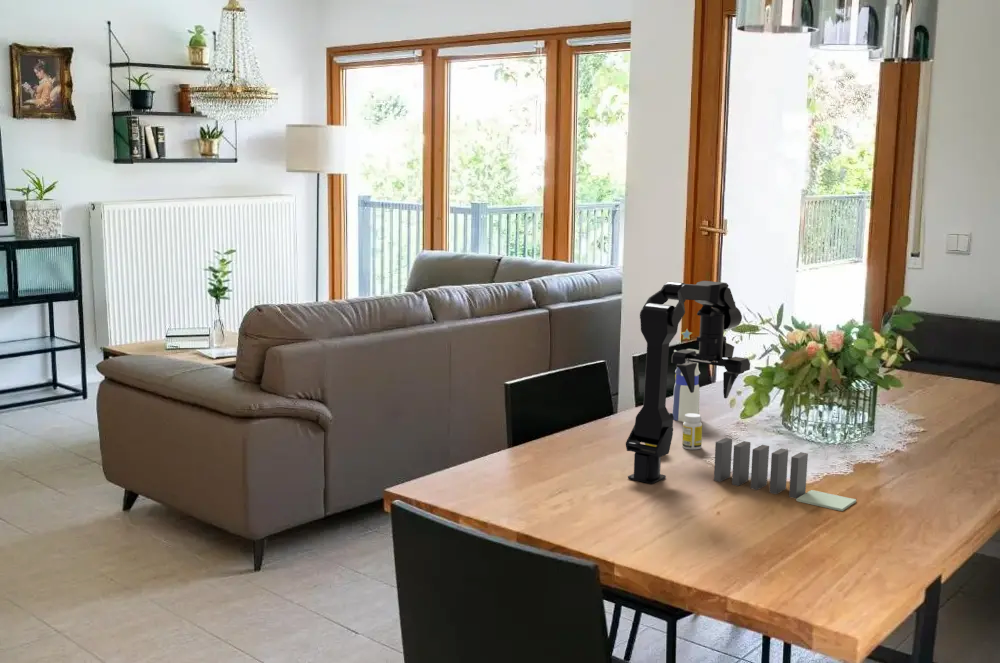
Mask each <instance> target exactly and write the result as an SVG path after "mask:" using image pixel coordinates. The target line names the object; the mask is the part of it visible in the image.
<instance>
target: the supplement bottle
mask: <svg viewBox="0 0 1000 663" xmlns="http://www.w3.org/2000/svg"><path fill="white" fill-rule="evenodd" d="M701 421H702V415H701V414H700V413H699V414H695V413H688V414H685V422H682V448H683V449H686V450H691V451H692V450H694V451H695V450H699V449H701V448H702V442H703V441H702V440H703V438H702V437H703V423H702V422H701Z"/></svg>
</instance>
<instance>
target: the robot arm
mask: <svg viewBox="0 0 1000 663" xmlns="http://www.w3.org/2000/svg"><path fill="white" fill-rule="evenodd" d="M669 300H674V301H678V302H677V303H676V306H675V305H671V304H670V305H669V304H665V303H667V302H668V301H669ZM686 301H694V302H695V303H698V304H700V305H702V307H701V308H700V309H699V310H698V311H697V313H696V316H700V318H699V319H700V320H699V336H697V337H696V342H698V347H699V348H698V350H699V353H697V354H696V352H695V351H691V350H686V349H679V350H676V352H674V351H673V353H672V355H671V363H672V364H675V367H676V368H677V367H678V368H679V369H680V371H681V373H682V374H683V376H684V378H685V381H686V383H687V385H688V388H689V390H690V392H691V393H693V392H694V387H695V368H696V365H697V363H698V364H702V365H708V366H709V365H710V366H711V365H712V366H716V367H724V369H725V370H726V371H724V372H723V383H722V384H723V385H722V388H723V391H722V392H723V398H724V399H727V398H729V394H730V393H731V391H732V389H733V388H732V387H733V385H734V384H735V382H736V379H737V378H738V376H740V375H742V374H744V373H745V372H747V371H750V370H751V362H750V359H749V358H747V357H741V356H734V351H735V346H734V345H732V344H730V343H728V342H727V337H726V336H725V335H724V332H725V331H727V330H730V329H731V330H732V329H734V328H737V327H738V326H740V324H741V323H742V319H743V316H742V313H741V310H740V309H739V308H738V307H737V306H736V301H735V299H734V297H733V294H732V291H731V288H730V287H729V284H728V283H727V282H721V281H720V282H719V281H711V280H701V281H698V282H696V284H691V283H690V284H689V283H684V282H676V281H668V282H665V283H664V284H663V286H662V287H661V289H659V290H658V291H657V292H655V293H654V294H653V295H651V296H649V297H648V298H647V300H646V302H645V303H644V304H643V307H642V308H641V310H640V313H639V319H640V332H641V333H642V334H641V335H642V336H643V337H644V340H645V342H646V357H645V359H646V360H645V372H644V373H645V377H644V391H643V392H644V393H643V406H642V407H641V409H640V410H639V411H638V413H637V414H636V416H635V421H634V425H633V428H632V430H631V431H630V434H629V436H628V437H627V440H626V441H625V448H626V451H627V452H632V453H634V454H633V455H634V458H633V459H634V462H633V473H632V474H630V475H627V479H629V480H633V481H636V482H641V483H645V484H651V485H652V484H655V483H657V482H659V481H662V480H664V479H665V478H667V475H664V474H661V462H662V461H661V460H662V457H663V456H666V455H669V453H670V450H671V446H672V441H673V435H674V432H673V431H674V428H673V427H674V420H673V419H674V417H673V414H672V412H669V410H668V409H667V407H666V402H667V385H668V370H669V369H668V367H669V353H670V351H669V350H670V343H671V342H672V341H673V339H674V338H675V336H676V335H677V333H678V328H679V327H678V326H679V324H680V322H681V320H682V318H683V317H684V316H685V313H686V309H685V308H686V307H685V302H686ZM693 362H696V363H693ZM645 443H647V444H652V445H656V446H657V447H653V446H649V445H645Z"/></svg>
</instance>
